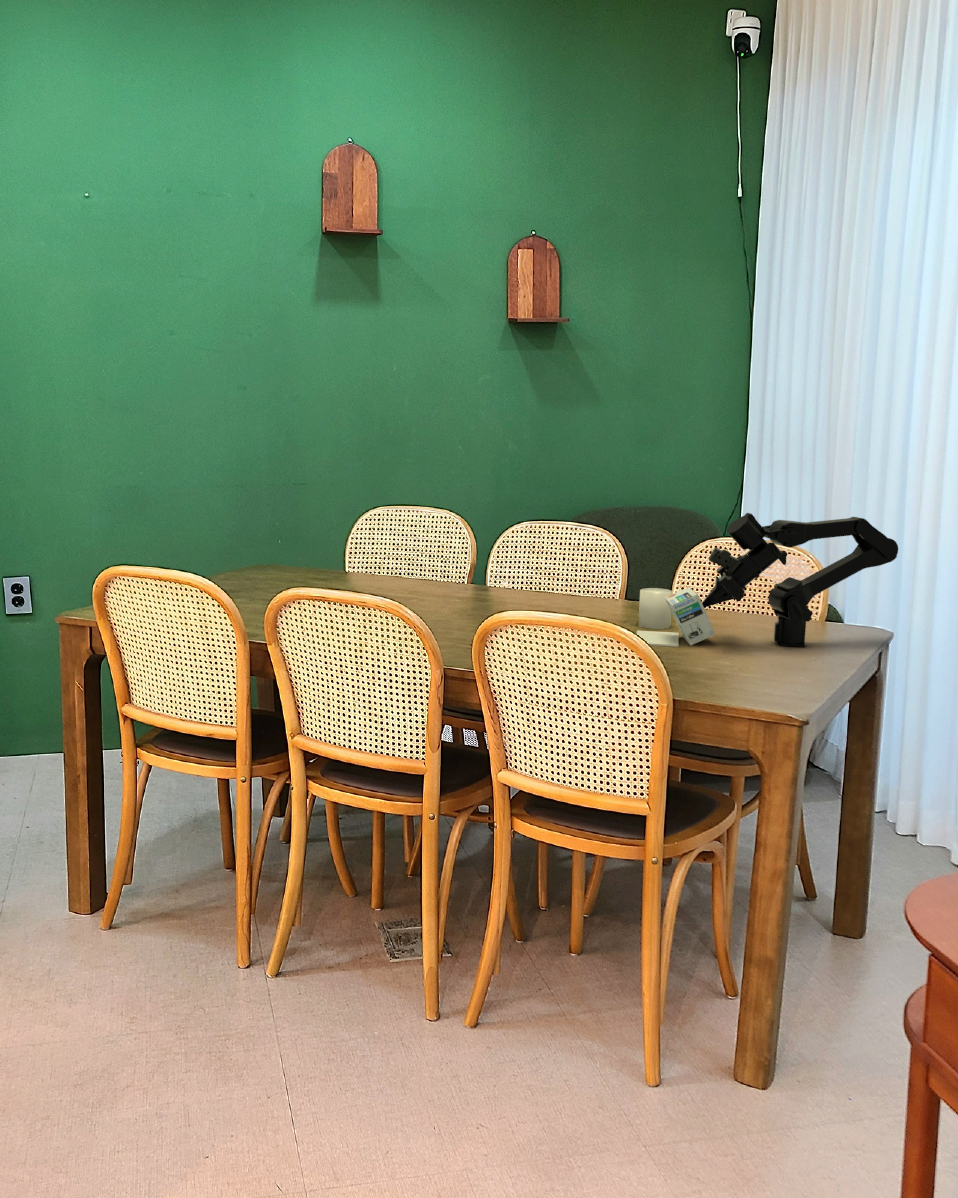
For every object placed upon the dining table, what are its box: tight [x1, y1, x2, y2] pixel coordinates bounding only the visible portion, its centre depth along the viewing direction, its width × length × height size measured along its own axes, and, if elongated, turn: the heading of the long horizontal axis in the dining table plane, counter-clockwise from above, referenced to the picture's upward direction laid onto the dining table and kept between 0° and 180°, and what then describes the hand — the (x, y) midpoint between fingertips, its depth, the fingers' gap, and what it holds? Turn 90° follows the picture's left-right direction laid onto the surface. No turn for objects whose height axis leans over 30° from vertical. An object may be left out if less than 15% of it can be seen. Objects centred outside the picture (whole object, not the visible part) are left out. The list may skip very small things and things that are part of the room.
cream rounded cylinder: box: [638, 587, 673, 630], centre depth 277 cm, size 8×8×9 cm
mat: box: [636, 630, 680, 648], centre depth 262 cm, size 10×14×1 cm
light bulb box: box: [665, 586, 717, 646], centre depth 259 cm, size 11×7×11 cm, turn 0°
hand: (702, 606), depth 258 cm, fingers closed
